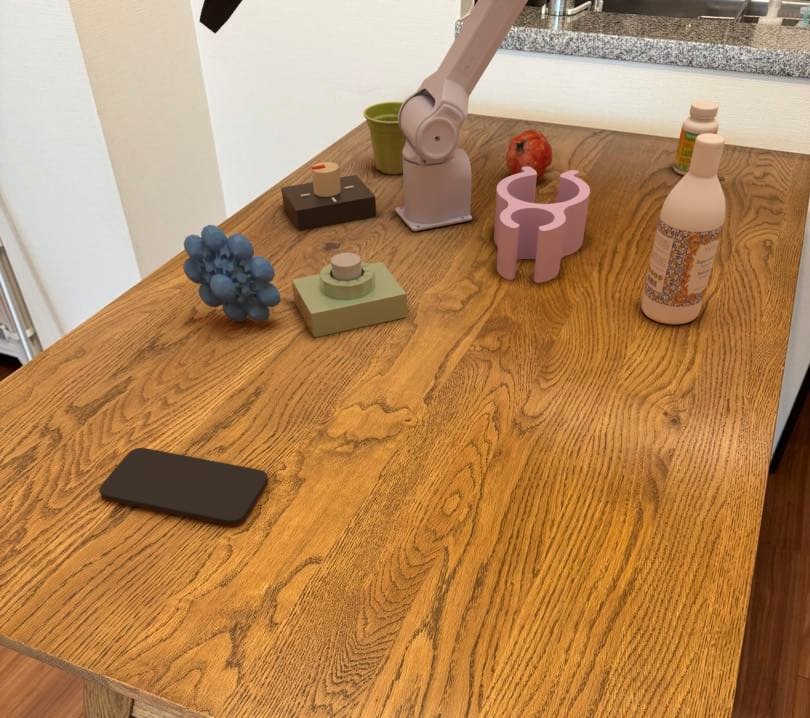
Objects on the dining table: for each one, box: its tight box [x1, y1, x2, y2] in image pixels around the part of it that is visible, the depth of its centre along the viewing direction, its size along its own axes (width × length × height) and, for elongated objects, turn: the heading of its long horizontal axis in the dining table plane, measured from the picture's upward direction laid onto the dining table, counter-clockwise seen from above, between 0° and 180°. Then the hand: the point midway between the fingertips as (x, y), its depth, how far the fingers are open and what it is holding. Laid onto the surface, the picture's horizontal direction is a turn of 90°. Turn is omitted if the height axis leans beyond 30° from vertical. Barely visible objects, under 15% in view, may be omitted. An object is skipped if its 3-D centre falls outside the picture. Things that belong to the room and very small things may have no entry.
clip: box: [493, 166, 591, 284], centre depth 106 cm, size 20×12×7 cm, turn 165°
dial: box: [310, 161, 341, 197], centre depth 115 cm, size 4×4×4 cm
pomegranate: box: [505, 129, 553, 182], centre depth 123 cm, size 7×7×10 cm
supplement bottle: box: [673, 100, 720, 177], centre depth 122 cm, size 5×5×10 cm
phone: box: [99, 447, 269, 527], centre depth 75 cm, size 7×1×15 cm
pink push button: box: [330, 252, 362, 281], centre depth 94 cm, size 4×4×2 cm
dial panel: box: [280, 174, 377, 232], centre depth 117 cm, size 12×9×3 cm
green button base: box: [291, 260, 408, 338], centre depth 96 cm, size 12×9×5 cm
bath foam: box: [640, 133, 727, 325], centre depth 88 cm, size 7×7×20 cm
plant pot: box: [363, 101, 407, 175], centre depth 127 cm, size 9×9×9 cm
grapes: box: [182, 224, 282, 323], centre depth 92 cm, size 12×7×12 cm, turn 78°
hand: (210, 24), depth 93 cm, fingers open, 7 cm apart
